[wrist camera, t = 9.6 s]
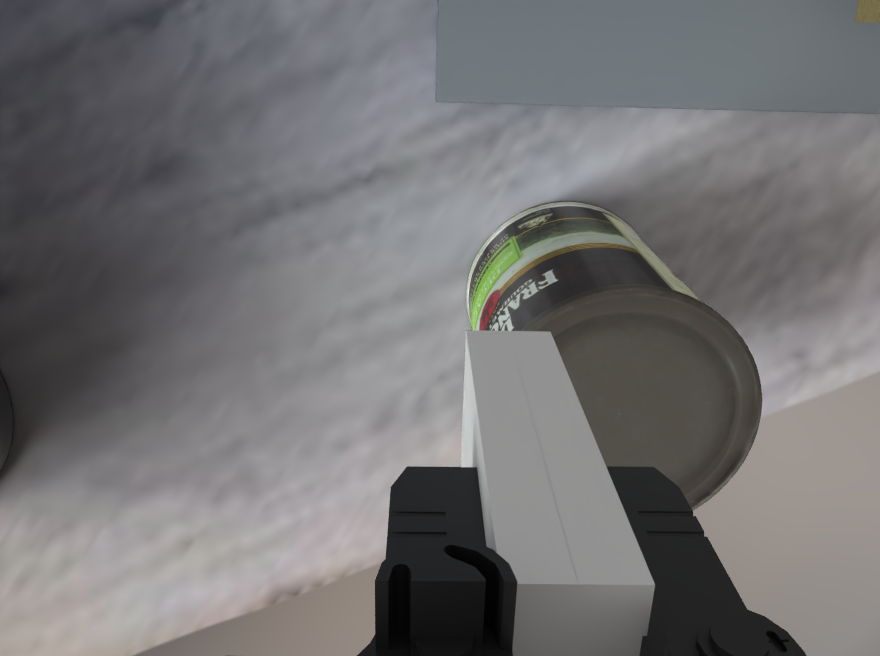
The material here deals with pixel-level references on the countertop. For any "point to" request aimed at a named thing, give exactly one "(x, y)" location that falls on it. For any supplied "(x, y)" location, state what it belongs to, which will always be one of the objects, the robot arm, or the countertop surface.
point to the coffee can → (625, 342)
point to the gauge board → (660, 54)
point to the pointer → (868, 11)
